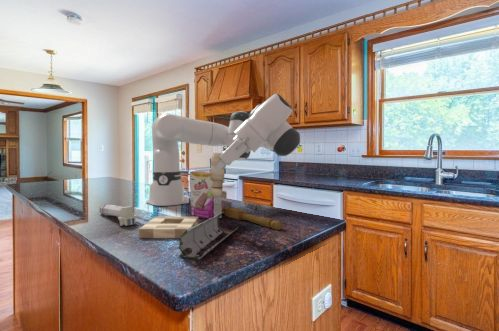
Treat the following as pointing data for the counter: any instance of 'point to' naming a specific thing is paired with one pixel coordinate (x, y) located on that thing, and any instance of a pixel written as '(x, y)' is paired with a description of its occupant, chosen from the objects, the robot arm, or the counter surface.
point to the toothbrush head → (119, 213)
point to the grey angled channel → (200, 237)
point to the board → (167, 227)
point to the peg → (216, 176)
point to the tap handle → (251, 218)
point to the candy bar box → (203, 196)
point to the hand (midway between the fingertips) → (215, 170)
